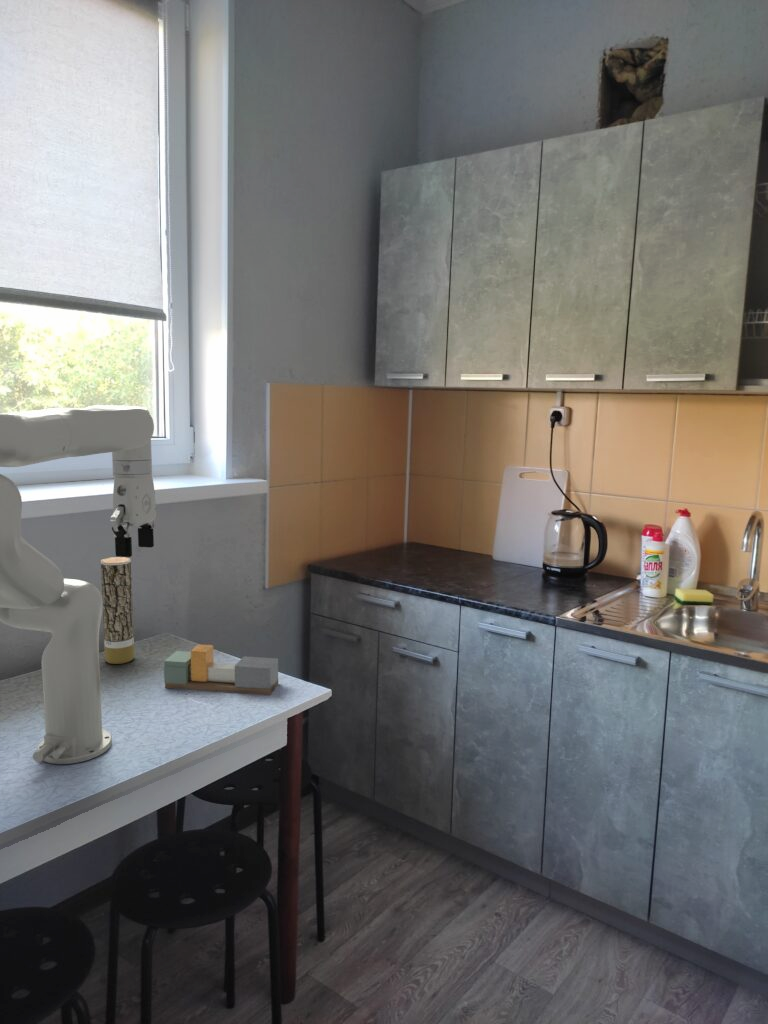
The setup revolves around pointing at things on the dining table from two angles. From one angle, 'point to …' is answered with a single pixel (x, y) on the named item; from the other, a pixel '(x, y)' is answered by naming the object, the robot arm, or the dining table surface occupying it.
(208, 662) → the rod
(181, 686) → the board
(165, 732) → the dining table surface
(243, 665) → the sleeve
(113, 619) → the brown bark cylinder
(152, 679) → the dining table surface
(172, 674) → the socket
